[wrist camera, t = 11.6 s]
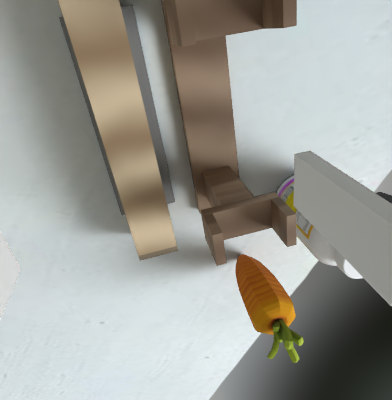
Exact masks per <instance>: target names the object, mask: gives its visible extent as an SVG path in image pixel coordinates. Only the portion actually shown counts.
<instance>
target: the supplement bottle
mask: <svg viewBox="0 0 392 400" xmlns="http://www.w3.org/2000/svg"><path fill="white" fill-rule="evenodd" d="M276 194H277V195H278V196H279V197H280V198H281V199H282V200H283V201H284V202H285V203H286V204H287V205H288V206H289V207H290V208H291V209H292V210H293V211H294V212H295V213H296V236H297V237H298V238H299V239H300V240H301V241H302V242H303V244H304V245H305V246H306V247H307V248H308V249H309V250H310V252H311V253H312V254H313V255H314V256H315V257H316V258H317V259H318V260H319V261H321V262H323V263H325V264H328V265H334V266H338V267H339V268H340V269H341V270H342V271H343V272H344V273H345V274H346V275H347V276H349V277H351V278H354V279H359V278H363V277H362V276H361V275H360V274H359V273H358V272H357V271H356V270H355V269H354V268H353V266H352V265H351V264H350V263H349V262H348V261H347V260H346V259H345V258H344V257H343V256H342V255H341V254H340V253H339V252H338V251H337V250H336V249H335V248H334V247H333V246H332V245H331V244H330V243H329V242H328V241H327V240H326V239H325V238H324V237H323V236H322V235H321V233H320V232H319V231H318V230H317V229H316V228H315V227H314V226H313V225H312V224H311V223H310V222H309V221H308V220H307V219H306V218H305V217H304V216H303V215H302V214H301V213H300V212H299V211H298V210H297V209H296V208H295V207H294V176H292V177H290V178H288V179H287V180H286V181H284V182H283V183H282V185H281V186H280V187H279V189H278V191H277V193H276Z"/></svg>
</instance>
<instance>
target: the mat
mask: <svg viewBox="0 0 392 400" xmlns="http://www.w3.org/2000/svg"><path fill="white" fill-rule="evenodd" d="M121 10H122V15H123V19H124V23H125V27H126V32H127V36H128V40H129V44H130V49H131V53H132V57H133V62H134V66H135V70H136V74H137V79H138V83H139V87H140V91H141V96H142V100H143V104H144V108H145V113H146V117H147V121H148V126H149V130H150V134H151V138H152V143H153V147H154V151H155V155H156V160H157V164H158V168H159V172H160V177H161V181H162V185H163V190H164V194H165V198H166V202H167V204H169V203H173V202H175V199H174V195H173V190H172V185H171V181H170V176H169V171H168V167H167V162H166V157H165V153H164V148H163V144H162V139H161V134H160V130H159V125H158V120H157V116H156V111H155V106H154V102H153V97H152V92H151V88H150V83H149V78H148V74H147V69H146V64H145V60H144V55H143V50H142V46H141V41H140V37H139V32H138V27H137V23H136V18H135V13H134V9H133V5H130V6H124V7H121ZM59 18H60V21H61V25H62V28H63V31H64V34H65V37H66V40H67V44H68V47H69V50H70V53H71V56H72V59H73V62H74V66H75V69H76V72H77V75H78V78H79V81H80V85H81V88H82V91H83V94H84V97H85V100H86V103H87V107H88V110H89V113H90V116H91V119H92V122H93V126H94V129H95V132H96V135H97V138H98V141H99V144H100V148H101V151H102V154H103V157H104V160H105V163H106V167H107V170H108V173H109V176H110V179H111V182H112V186H113V189H114V192H115V195H116V198H117V201H118V204H119V208H120V211H121V214H122V215H123V214H125V211H124V208H123V205H122V202H121V199H120V195H119V192H118V189H117V186H116V183H115V179H114V176H113V173H112V170H111V167H110V164H109V160H108V157H107V154H106V151H105V148H104V145H103V141H102V138H101V135H100V132H99V129H98V125H97V122H96V119H95V116H94V113H93V110H92V106H91V103H90V100H89V97H88V94H87V90H86V87H85V84H84V81H83V78H82V75H81V71H80V68H79V65H78V62H77V59H76V55H75V52H74V49H73V46H72V43H71V40H70V36H69V33H68V30H67V27H66V24H65V20H64V17H59Z"/></svg>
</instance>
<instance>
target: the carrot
mask: <svg viewBox="0 0 392 400" xmlns="http://www.w3.org/2000/svg"><path fill="white" fill-rule="evenodd" d="M236 278H237V283H238V287H239V291H240V293H241V296H242V299H243V302H244V304H245V307H246V309H247V312H248V314H249V317H250V319H251V321H252V324H253V326H254V328H255V330H256V331H257V332H261V333H266V334H271V335H274V343H273V346H272V350H271V351H270V353H269V355H268V356H267V357H268V358H270V359H272V358H273V357H274V356H275V355H276V353H277V351H278V347H279V343H280V342H282V340H283V342H284V347H285V349H287V352H288V354H289V356H290V358H291V360H292V362H293V363H295V362H297V361H298V360H299V357H298V355H297V352H296V350H295V349H294V347H293V341H294V342H295V343H296V344H298V345H299V346H300V345H302V343H303V338H302V337H301V336H300V335H298V334H297V333H295V332H293V331H292V330H290V329H289V328H288V327H289V325H290V324H291V323H292V321H293V320H294V318H295V312H294V307H293V303H292V301H291V299H290V297H289V296H288V294H287V293H286V291H285V290H284V288H283V287H282V285H281V284H280V283H279V281H278V280H277V279H276V277H275V276H274V275H273V274H272V273H271V272H270V271H269V270H268V269H267V268H266V267H265V266H264V265H263V264H262V263H261V262H259V261H257V260H256V259H254V258H252V257H249V256H247V255H244V254H242V255H239V257H238V259H237V263H236Z"/></svg>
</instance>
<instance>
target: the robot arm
mask: <svg viewBox="0 0 392 400" xmlns="http://www.w3.org/2000/svg"><path fill="white" fill-rule="evenodd" d="M294 207H295V208H296V209H297V210H298V211H299V212H300V213H301V214H302V215H303V216H304V217H305V218H306V219H307V220H308V221H309V222H310V223H311V224H312V225H313V226H314V227H315V228H316V229H317V230H318V231H319V232H320V233H321V235H322V236H323V237H324V238H325V239H326V240H327V241H328V242H329V243H330V244H331V245H332V246H333V247H334V248H335V249H336V250H337V251H338V252H339V253H340V254H341V255H342V256H343V257H344V258H345V259H346V260H347V261H348V262H349V263H350V264H351V265H352V266H353V268H354V269H355V270H356V271H357V272H358V273H359V274H360V275H361V276H362V277H363V278H364V279H365V280H366V281H367V282H368V283H369V284H370V285H371V286H372V287H373V288H374V289H375V290H376V291H377V292H378V293H379V294H380V295H381V296H382V297H383V298H384V299H385V301H387V302H388V303H389V304H390V305H391V306H392V196H391V195H388V194H385V193H382V192H378V193H374V192H373V191H371V190H370V189H368V188H367V187H365V186H364V185H362V184H360V183H359V182H357V181H356V180H354V179H353V178H351V177H350V176H348V175H347V174H345V173H344V172H342V171H341V170H339V169H337V168H336V167H334V166H333V165H331V164H330V163H328V162H327V161H325V160H324V159H322V158H321V157H319V156H317V155H316V154H314V153H313V152H311V151H307V152H302V153H298V154H294ZM20 272H21V268H20V266H19V264H18V263H17V261H16V259H15V257H14V255H13V253H12V251H11V250H10V248H9V246H8V244H7V242H6V240H5V239H4V237H3V235H2V233H1V231H0V320H1V318H2V315H3V313H4V311H5V308H6V306H7V303H8V301H9V298H10V296H11V294H12V291H13V289H14V286H15V284H16V281H17V279H18V277H19V274H20Z"/></svg>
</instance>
